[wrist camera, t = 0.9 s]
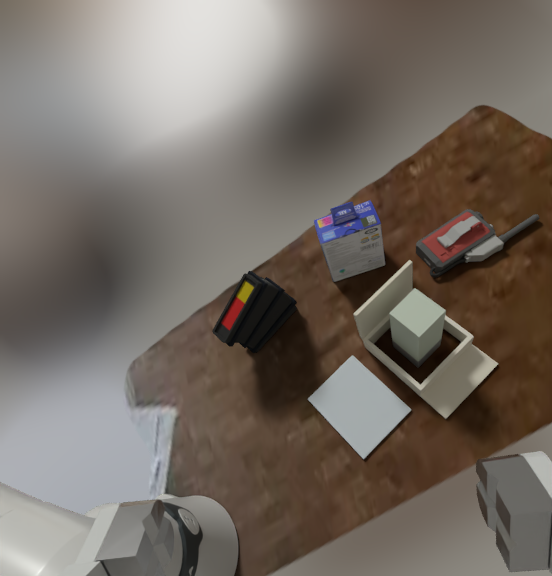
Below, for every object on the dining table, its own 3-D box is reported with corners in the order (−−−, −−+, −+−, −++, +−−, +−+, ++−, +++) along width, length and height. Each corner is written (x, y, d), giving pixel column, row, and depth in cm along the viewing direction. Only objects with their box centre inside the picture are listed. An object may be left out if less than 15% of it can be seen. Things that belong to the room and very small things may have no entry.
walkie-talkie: (441, 290, 71) (541, 224, 71) (442, 277, 67) (548, 208, 67) (407, 254, 75) (501, 193, 76) (407, 241, 71) (506, 176, 72)
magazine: (309, 292, 75) (261, 282, 62) (272, 353, 77) (219, 356, 65) (294, 281, 77) (244, 269, 64) (258, 341, 79) (204, 341, 67)
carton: (445, 419, 61) (452, 397, 50) (362, 345, 69) (353, 313, 59) (497, 364, 62) (514, 332, 52) (410, 298, 71) (409, 259, 60)
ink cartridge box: (377, 241, 78) (370, 188, 65) (387, 265, 75) (382, 215, 63) (325, 258, 79) (309, 210, 67) (333, 283, 76) (318, 237, 64)
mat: (363, 459, 61) (363, 459, 61) (308, 399, 68) (307, 399, 67) (411, 410, 63) (411, 409, 62) (352, 356, 69) (352, 355, 69)
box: (418, 368, 65) (419, 337, 54) (392, 346, 68) (389, 313, 57) (440, 345, 66) (445, 310, 55) (414, 325, 69) (414, 288, 58)
